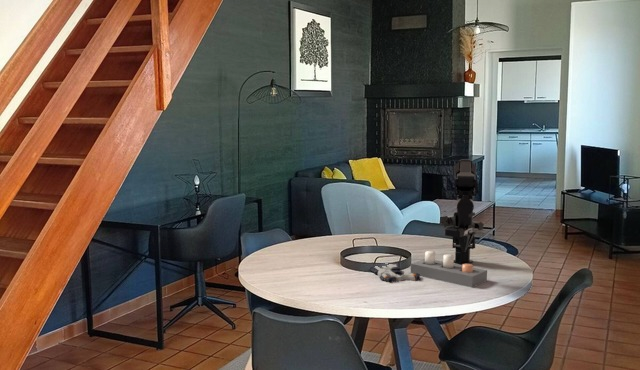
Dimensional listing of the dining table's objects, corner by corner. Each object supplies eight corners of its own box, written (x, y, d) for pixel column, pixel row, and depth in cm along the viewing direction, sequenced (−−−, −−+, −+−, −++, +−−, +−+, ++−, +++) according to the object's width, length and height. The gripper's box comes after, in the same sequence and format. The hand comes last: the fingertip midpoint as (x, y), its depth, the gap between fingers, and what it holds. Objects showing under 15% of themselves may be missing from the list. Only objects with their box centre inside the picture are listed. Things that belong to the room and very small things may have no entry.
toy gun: (423, 281, 228) (385, 286, 224) (401, 266, 247) (366, 270, 243) (423, 274, 228) (385, 278, 224) (402, 260, 246) (366, 263, 242)
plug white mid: (446, 266, 234) (446, 253, 233) (455, 268, 231) (455, 255, 230) (441, 268, 231) (441, 255, 230) (450, 270, 228) (450, 257, 228)
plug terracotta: (465, 276, 229) (465, 263, 228) (474, 278, 226) (474, 264, 225) (459, 278, 226) (460, 265, 225) (469, 280, 223) (469, 266, 223)
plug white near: (428, 263, 239) (428, 250, 238) (436, 264, 236) (437, 252, 236) (422, 265, 236) (423, 252, 236) (431, 266, 234) (431, 253, 233)
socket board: (426, 268, 244) (426, 258, 244) (486, 280, 227) (487, 270, 226) (410, 273, 236) (410, 263, 236) (472, 287, 219) (472, 276, 218)
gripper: (457, 204, 236) (456, 243, 238) (431, 210, 222) (431, 253, 224) (484, 207, 229) (483, 248, 231) (459, 214, 215) (458, 258, 217)
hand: (463, 251), depth 226 cm, fingers closed
